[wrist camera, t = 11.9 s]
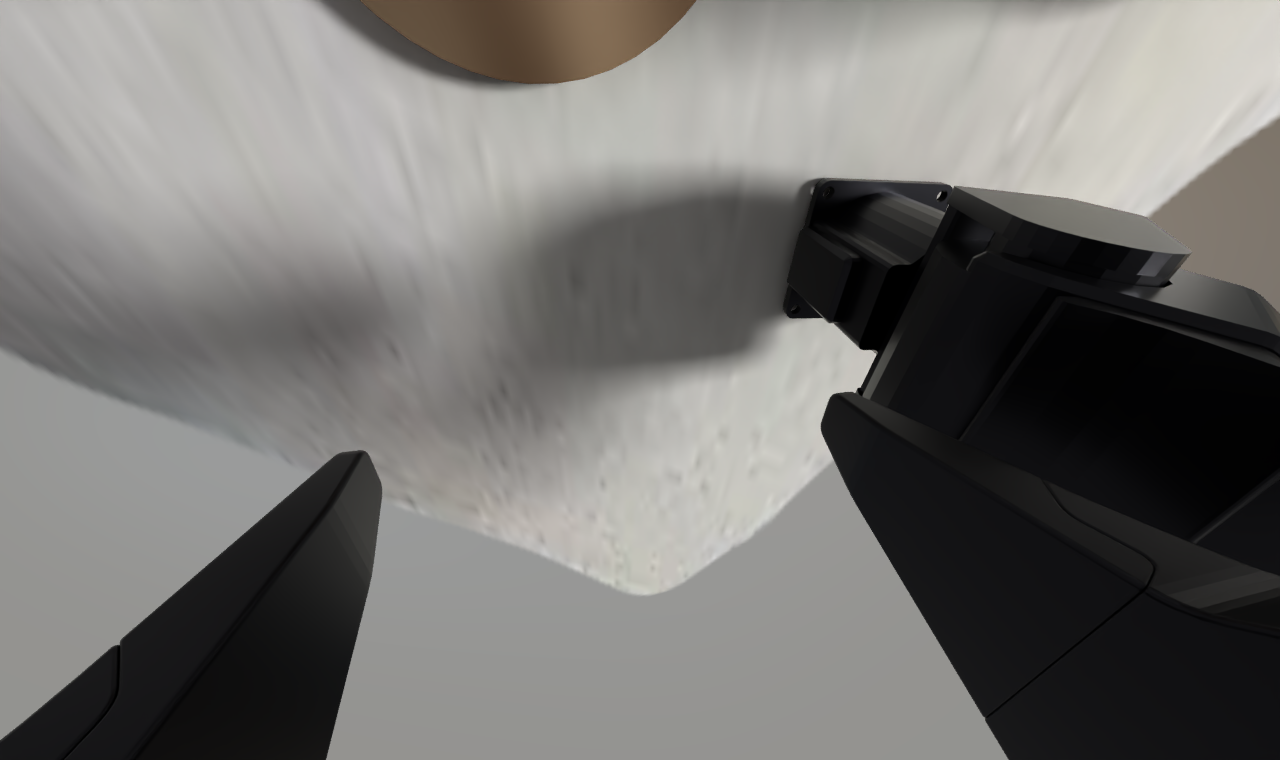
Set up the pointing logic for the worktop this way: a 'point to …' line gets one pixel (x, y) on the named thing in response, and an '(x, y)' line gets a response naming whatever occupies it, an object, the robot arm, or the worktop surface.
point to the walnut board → (533, 33)
